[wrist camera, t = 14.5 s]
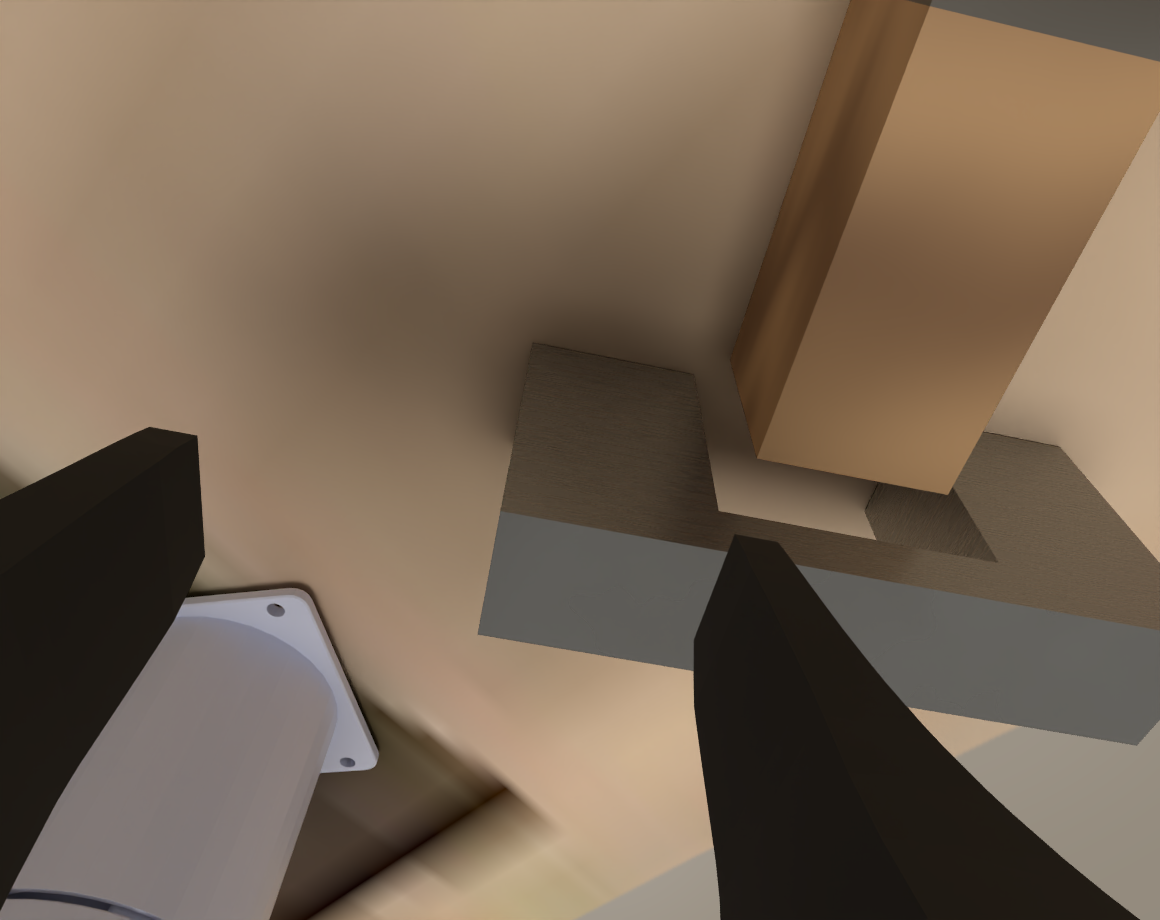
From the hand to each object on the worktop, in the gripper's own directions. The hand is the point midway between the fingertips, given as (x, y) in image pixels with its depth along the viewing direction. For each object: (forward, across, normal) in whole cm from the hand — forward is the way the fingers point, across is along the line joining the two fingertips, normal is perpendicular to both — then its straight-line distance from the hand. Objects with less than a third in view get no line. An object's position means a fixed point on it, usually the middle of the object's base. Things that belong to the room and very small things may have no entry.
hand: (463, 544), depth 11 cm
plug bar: (+10, -7, -5) cm, 13 cm away
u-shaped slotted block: (+9, -7, +3) cm, 12 cm away
